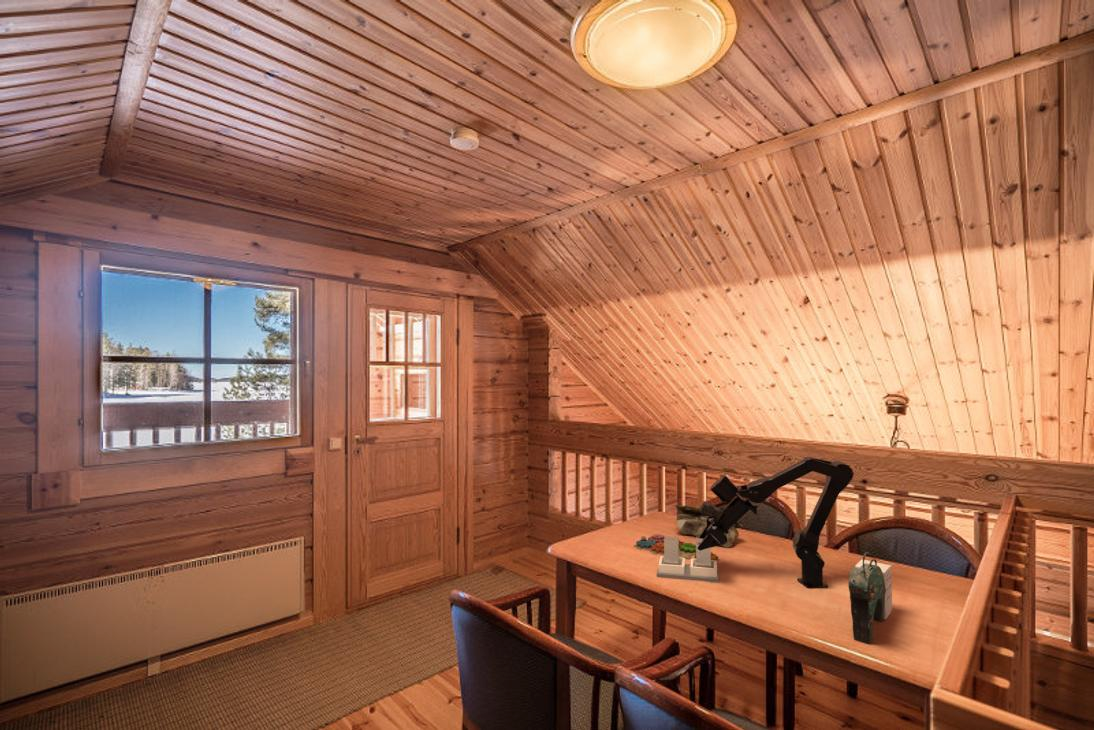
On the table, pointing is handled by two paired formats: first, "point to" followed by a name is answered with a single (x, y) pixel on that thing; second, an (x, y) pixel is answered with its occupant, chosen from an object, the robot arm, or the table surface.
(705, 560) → the block
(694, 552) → the gear puzzle
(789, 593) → the table surface
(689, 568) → the double socket tray
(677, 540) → the billet
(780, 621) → the table surface
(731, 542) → the hollow geode rock
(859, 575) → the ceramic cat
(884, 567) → the supplement box
